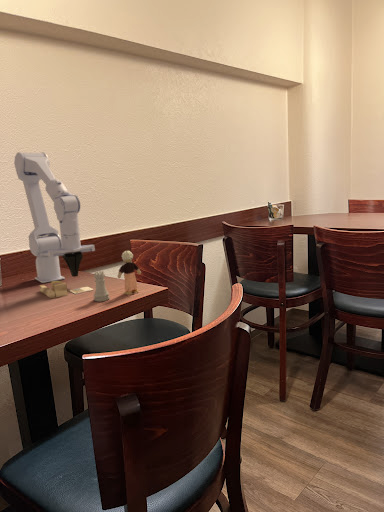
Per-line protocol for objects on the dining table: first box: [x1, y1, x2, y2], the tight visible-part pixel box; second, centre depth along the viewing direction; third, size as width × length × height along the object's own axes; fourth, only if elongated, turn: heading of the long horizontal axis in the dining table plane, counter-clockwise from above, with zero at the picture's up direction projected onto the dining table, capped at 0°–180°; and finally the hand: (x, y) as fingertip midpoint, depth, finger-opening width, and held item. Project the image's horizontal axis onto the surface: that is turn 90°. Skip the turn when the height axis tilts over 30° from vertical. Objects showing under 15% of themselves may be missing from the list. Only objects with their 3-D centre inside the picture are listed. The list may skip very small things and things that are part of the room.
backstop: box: [39, 284, 56, 299], centre depth 123 cm, size 12×1×2 cm, turn 36°
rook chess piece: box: [93, 270, 111, 303], centre depth 113 cm, size 4×4×8 cm
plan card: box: [69, 286, 94, 295], centre depth 125 cm, size 5×6×1 cm
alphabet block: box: [50, 280, 63, 290], centre depth 126 cm, size 3×3×3 cm
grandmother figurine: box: [117, 250, 142, 296], centre depth 118 cm, size 8×4×13 cm, turn 142°
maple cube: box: [50, 281, 69, 298], centre depth 121 cm, size 4×4×4 cm
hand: (74, 276), depth 130 cm, fingers closed
